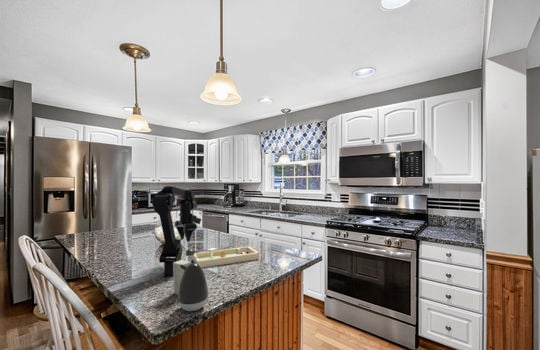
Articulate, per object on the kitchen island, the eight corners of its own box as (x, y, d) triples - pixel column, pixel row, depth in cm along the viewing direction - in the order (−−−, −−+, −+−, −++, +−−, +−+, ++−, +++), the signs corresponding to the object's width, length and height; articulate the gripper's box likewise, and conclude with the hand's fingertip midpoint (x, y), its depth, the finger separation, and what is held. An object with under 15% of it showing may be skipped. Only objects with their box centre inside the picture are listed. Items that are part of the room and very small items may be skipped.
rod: (229, 256, 143) (229, 245, 143) (186, 262, 133) (186, 251, 133) (228, 255, 145) (228, 244, 146) (185, 261, 135) (185, 249, 136)
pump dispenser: (189, 299, 94) (189, 258, 94) (213, 302, 91) (213, 260, 91) (170, 312, 84) (170, 266, 84) (197, 317, 81) (197, 269, 81)
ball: (226, 257, 142) (226, 251, 142) (220, 258, 140) (220, 252, 140) (225, 256, 145) (225, 250, 145) (219, 257, 143) (219, 250, 143)
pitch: (259, 259, 142) (259, 252, 142) (197, 268, 128) (197, 261, 128) (249, 252, 157) (248, 246, 157) (192, 259, 142) (192, 253, 143)
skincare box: (192, 292, 99) (192, 261, 100) (183, 297, 96) (183, 264, 96) (182, 289, 103) (182, 259, 103) (172, 293, 99) (172, 262, 99)
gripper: (206, 212, 135) (206, 241, 134) (193, 209, 150) (193, 236, 149) (185, 213, 128) (185, 244, 128) (174, 211, 143) (174, 238, 142)
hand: (185, 240), depth 137 cm, fingers open, 9 cm apart
